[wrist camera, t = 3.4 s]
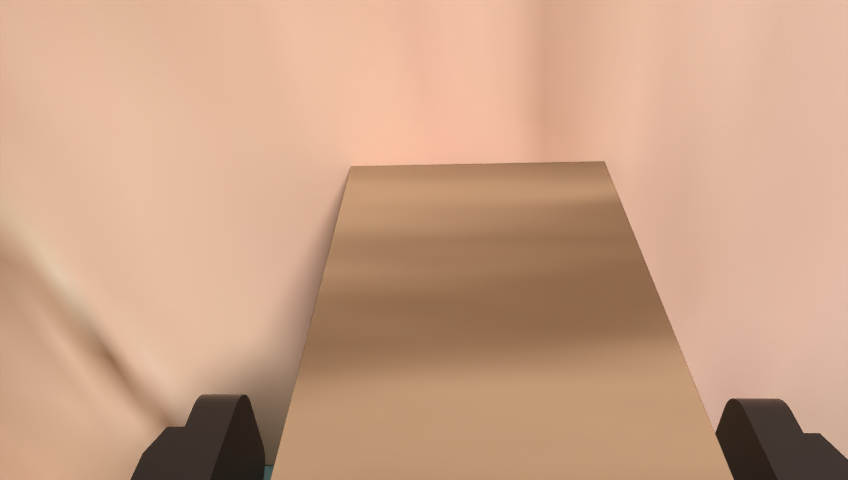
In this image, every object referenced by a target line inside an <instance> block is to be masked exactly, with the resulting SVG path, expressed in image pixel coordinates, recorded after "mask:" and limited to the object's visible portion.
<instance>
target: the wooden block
mask: <svg viewBox="0 0 848 480" xmlns="http://www.w3.org/2000/svg"><path fill="white" fill-rule="evenodd" d="M271 480H734V479H733V476H732V474H731V472H730V469H729V467H728V464H727V462H726V459H725V457H724V454H723V452H722V449H721V447H720V444H719V442H718V440H717V437H716V435H715V432H714V430H713V427H712V425H711V422H710V420H709V417H708V415H707V413H706V410H705V408H704V405H703V403H702V400H701V398H700V395H699V393H698V390H697V388H696V385H695V383H694V381H693V378H692V376H691V373H690V371H689V368H688V366H687V363H686V361H685V358H684V356H683V353H682V351H681V349H680V346H679V344H678V341H677V339H676V336H675V334H674V331H673V329H672V326H671V324H670V322H669V319H668V317H667V314H666V312H665V309H664V307H663V304H662V302H661V299H660V297H659V294H658V292H657V290H656V287H655V285H654V282H653V280H652V277H651V275H650V272H649V270H648V267H647V265H646V263H645V260H644V258H643V255H642V253H641V250H640V248H639V245H638V243H637V240H636V238H635V235H634V233H633V231H632V228H631V226H630V223H629V221H628V218H627V216H626V213H625V211H624V208H623V206H622V204H621V201H620V199H619V196H618V194H617V191H616V189H615V186H614V184H613V181H612V179H611V176H610V174H609V172H608V169H607V167H606V164H605V162H555V163H505V164H454V165H404V166H354V167H351V168H350V172H349V176H348V180H347V184H346V188H345V192H344V196H343V200H342V203H341V207H340V211H339V215H338V219H337V223H336V227H335V231H334V235H333V239H332V242H331V246H330V250H329V254H328V258H327V262H326V266H325V270H324V274H323V277H322V281H321V285H320V289H319V293H318V297H317V301H316V305H315V309H314V313H313V316H312V320H311V324H310V328H309V332H308V336H307V340H306V344H305V348H304V352H303V355H302V359H301V363H300V367H299V371H298V375H297V379H296V383H295V387H294V391H293V394H292V398H291V402H290V406H289V410H288V414H287V418H286V422H285V426H284V430H283V433H282V437H281V441H280V445H279V449H278V453H277V457H276V461H275V465H274V469H273V472H272V476H271Z"/></svg>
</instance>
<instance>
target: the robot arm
mask: <svg viewBox="0 0 848 480" xmlns="http://www.w3.org/2000/svg"><path fill="white" fill-rule="evenodd" d="M715 435H716V437H717V440H718V442H719V444H720V447H721V449H722V452H723V454H724V457H725V459H726V462H727V464H728V467H729V469H730V472H731V474H732V476H733V479H734V480H848V459H847V458H845V457H844V456H843V455H842V454H841V453H840V452H839V451H838V450H837V449H836V448H835V447H834V446H833V445H832V444H831V443H829V442H828V441H827V440H826V439H825V438H824V437H823V436H822V435H821V434H820V433H803V431H802V430H801V428H800V426H799V424H798V422H797V421H796V419H795V417H794V415H793V413H792V411H791V410H790V408H789V407H788V405H787V404H786V403H785V402H784V401H782V400H780V399H730V400H729V401H728V402H727V404H726V406H725V408H724V411H723V414H722V417H721V419H720V422H719V425H718V428H717V430H716V433H715ZM264 471H265V453H264V447H263V444H262V440H261V437H260V434H259V430H258V427H257V423H256V420H255V417H254V413H253V410H252V406H251V403H250V400H249V398H248V396H247V395H201V396H200V397H199V398H198V399H197V400H196V402H195V404H194V406H193V409H192V411H191V413H190V416H189V418H188V420H187V423H186V425H185V427H167V428H166V429H165V430H164V431H163V432H162V433H161V434H160V435H159V437H158V438H157V439H156V440H155V441H154V442H153V443H152V444H151V445H150V446H149V447H148V448H147V449H146V451H145V452H144V453H143V454H142V456H141V458H140V461H139V463H138V465H137V467H136V469H135V471H134V473H133V476H132V478H131V480H263V479H264Z"/></svg>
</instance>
